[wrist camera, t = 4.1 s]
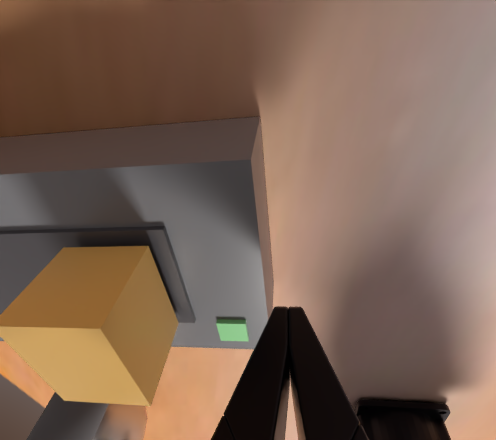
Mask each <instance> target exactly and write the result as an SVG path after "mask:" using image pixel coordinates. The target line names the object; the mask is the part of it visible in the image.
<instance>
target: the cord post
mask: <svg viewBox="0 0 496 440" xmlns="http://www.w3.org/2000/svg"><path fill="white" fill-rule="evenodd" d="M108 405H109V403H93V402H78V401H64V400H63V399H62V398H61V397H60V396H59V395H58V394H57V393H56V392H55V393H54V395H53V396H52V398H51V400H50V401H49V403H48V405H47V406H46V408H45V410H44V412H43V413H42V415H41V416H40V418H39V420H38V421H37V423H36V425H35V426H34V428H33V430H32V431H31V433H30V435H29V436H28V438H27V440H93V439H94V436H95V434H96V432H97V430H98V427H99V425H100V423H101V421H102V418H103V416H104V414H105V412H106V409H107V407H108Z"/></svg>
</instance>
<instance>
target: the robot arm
mask: <svg viewBox="0 0 496 440" xmlns="http://www.w3.org/2000/svg"><path fill="white" fill-rule="evenodd" d="M290 380H291V389H292V397H293V404H294V411H295V418H296V426H297V433H298V440H451V438H450V436H449V433H448V431H447V428H446V426H445V423H444V422H445V420H446V419H447V417H448V416H449V414H450V410H449V408H448V406H447V405H446V404H438V403H419V402H401V401H382V400H359V401H358V402H357V404H356V409H355V411H354V409H353V407H352V405H351V403H350V402H349V400H348V398H347V396H346V394H345V392H344V390H343V388H342V386H341V384H340V382H339V380H338V378H337V376H336V374H335V372H334V370H333V368H332V366H331V364H330V362H329V360H328V358H327V356H326V354H325V352H324V350H323V348H322V346H321V344H320V342H319V340H318V338H317V336H316V334H315V332H314V330H313V328H312V326H311V324H310V322H309V320H308V318H307V316H306V314H305V312H304V310H303V309H302V308H301V307H289V308H287V307H275V308H274V309H273V311H272V313H271V315H270V317H269V319H268V321H267V323H266V325H265V328H264V330H263V332H262V334H261V336H260V338H259V340H258V342H257V344H256V346H255V349H254V351H253V353H252V355H251V357H250V359H249V361H248V363H247V365H246V368H245V370H244V372H243V374H242V376H241V378H240V380H239V382H238V384H237V386H236V389H235V391H234V393H233V395H232V397H231V399H230V401H229V403H228V405H227V407H226V410H225V412H224V416H222V418H221V420H220V422H219V424H218V426H217V428H216V430H215V432H214V434H213V436H212V438H211V440H285V431H286V420H287V409H288V398H289V386H290Z"/></svg>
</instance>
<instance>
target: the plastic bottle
mask: <svg viewBox="0 0 496 440" xmlns="http://www.w3.org/2000/svg"><path fill="white" fill-rule="evenodd" d="M146 422H147V413H146V408H145V406H141V405H125V404H109V405H108V407H107V409H106V412H105V414H104V416H103V418H102V421H101V423H100V425H99V427H98V430H97V432H96V434H95V436H94V439H93V440H143V438H144V434H145V428H146Z"/></svg>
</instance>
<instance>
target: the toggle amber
mask: <svg viewBox="0 0 496 440" xmlns="http://www.w3.org/2000/svg"><path fill="white" fill-rule="evenodd" d="M178 324H179V323H178V320H177V318H176V315H175V313H174V310H173V307H172V305H171V302H170V300H169V297H168V295H167V292H166V290H165V287H164V285H163V282H162V279H161V277H160V274H159V272H158V269H157V267H156V264H155V262H154V259H153V256H152V254H151V251H150V249H149V246H116V247H64V248H63V249H62V250H61V251H60V252H59V253H58V254H57V255H56V256H55V257H54V258H53V259H52V260H51V261H50V262H49V264H48V265H47V266H46V267H45V268H44V269H43V270H42V271H41V272H40V273H39V274H38V275H37V276H36V277H35V278H34V279H33V281H32V282H31V283H30V284H29V285H28V286H27V287H26V288H25V289H24V290H23V291H22V292H21V293H20V294H19V295H18V297H17V298H16V299H15V300H14V301H13V302H12V303H11V304H10V305H9V306H8V307H7V308H6V309H5V310H4V311H3V313H2V314H1V315H0V337H1V338H2V339H3V340H4V341H5V342H6V343H7V344H8V345H9V346H10V347H11V348H12V349H13V350H14V351H15V352H16V353H17V354H18V355H19V356H20V357H21V358H22V359H23V360H24V361H25V362H26V363H27V364H28V365H29V366H30V367H31V368H32V369H33V370H34V371H35V372H36V373H37V374H38V375H39V376H40V377H41V378H42V379H43V380H44V381H45V382H46V383H47V384H48V385H49V386H50V387H51V388H52V389H53V390H54V391H55V392H56V393H57V394H58V395H59V396H60V397H61V398H62V399H63V400H64V401H78V402H93V403H109V404H125V405H141V406H151V404H152V401H153V398H154V395H155V392H156V389H157V386H158V383H159V380H160V377H161V374H162V371H163V368H164V365H165V362H166V359H167V356H168V353H169V350H170V347H171V344H172V341H173V339H174V336H175V333H176V330H177V327H178Z"/></svg>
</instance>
